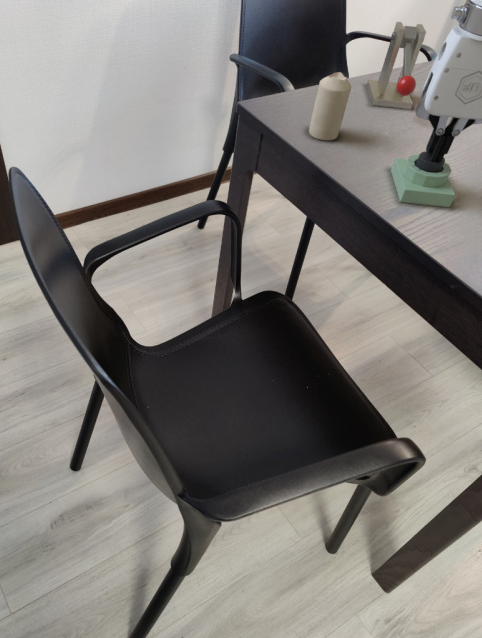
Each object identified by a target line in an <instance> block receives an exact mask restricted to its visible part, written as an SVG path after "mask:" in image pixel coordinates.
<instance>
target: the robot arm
mask: <svg viewBox="0 0 482 638" xmlns="http://www.w3.org/2000/svg"><path fill="white" fill-rule="evenodd" d="M450 16H451V17H450V19H451V20H456V21H457V22H458V25H454V26H453V27H452V29H451V30H450V32H449V33H448V35H447V37H446V39H445V40H444V42H443V44H442V45H441V48H440V49H439V52H438V54H437V55H436V58H435V59H434V62H433V64H432V66H431V68H430V71H429V72H428V76H427V78H426V80H425V82H424V85H423V88H422V91H421V94H420V100H419V102H418V104H417V106H416V107H415V108H414V113H415V115H416V117H418V118H420V119H423V120H426V121H429V123H430V124H431V126H432V128H433V129H432V132H431V135H430V136H429V139H428V141H427V144H426V148H425V151H427V153H428V156H429V158H430V161H435V160H437V161H438V162H441V161H442V159H443V157H444V158H445V155H447V154H448V153H449V151H450V149H451V147H452V144H453V143H454V140H455V138H456V137H459V136H460V135H461V133H462V132H463V131H465V130H467V128H469V127H471V126H472V125H480V124H482V0H466V1H465V3H464V4H463V5H460V6H454V7H453V9H452V12H451V15H450ZM449 118H450V120H449ZM448 120H449V122H448Z"/></svg>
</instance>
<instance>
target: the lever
mask: <svg viewBox="0 0 482 638" xmlns="http://www.w3.org/2000/svg"><path fill="white" fill-rule="evenodd" d="M403 26H404V28H405V32H404V35H403V38H402V41H401V45H400V48H399V49H403V58H402V59H403V60H402V67H403V77H402V78H401V79H400V80H399V81H398V80H397V82H398V83H397V82H396V83H397V92H398V93H399V94H400V95H402V96H408V95H410V96H411V94H413V93H414V91H415V89H416V86H417V82H416V79H415V77H414V76H412V75H411V76H410V68H411V47H412V45H413V43H414V41H415V39H416V26H414V25H413V26H411V25H403Z"/></svg>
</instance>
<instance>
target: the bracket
mask: <svg viewBox="0 0 482 638" xmlns="http://www.w3.org/2000/svg"><path fill="white" fill-rule="evenodd" d="M404 26H405V25H404V24H403V22H402V21H396V22H395V25H394V29H393V32H392V33H391V37H390V42H389V44H388V48H387V52H386V54H385V58H384V61H383V65H382V67H381V70H380V74H379V77H378V80H374V79H373V80H372V79H367V82H366V88H367V92H368V93H367V94H368V95H369V99H370V103H371V106H374V107H383V108H384V107H385V108H386V107H387V108H393V109H394V108H395V109H403V110H412V108H413V105H414V102H413V100H412V98H411V94H410V95H408V96H402V95H400V94H399V93H398V92H397V83H398V81H399V80H400V79H401V78H402V77H403V66H402V68H401V70H400V73H399V76H398V79H397V81H396V82H392V81H390V78H391V75H392V72H393V69H394V66H395V63H396V60H397V56H398V53H399V51H400V49H401V48H400V45H401V41H402V38H403V35H404V32H405V28H404ZM415 27H416V39H415V41H414V43H413V45H412V47H411V68H410V76H412V74H413V71H414V69H415V65H416V62H417V60H418V57H419V54H420V51H421V48H422V46H423V43H424V41H425V38H426V34H427V31H426V28H425V27H424V25H423V24H422V23H417V24H416V26H415Z"/></svg>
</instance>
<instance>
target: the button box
mask: <svg viewBox="0 0 482 638" xmlns="http://www.w3.org/2000/svg"><path fill="white" fill-rule="evenodd" d="M419 155H420V153H419V154H414V155H410V156H408V158H407V159H406V158H397V157H395V158H394V159H393V163H392V166H391V168H390V172H391V176H392V180H393V183H394V186H395V189H396V193H397V196H398V199H399V202H400V203H404V204H415V205H425V206H434V207H443V208H450V207H451V205H452V203H453V201H454V199H456V198H455V197H456V192H455V190H454V188H453V184H452V183H451V181H450V178H449V177H450V175H451V173H452V169H451V166H450V163H447V162H446V161H445V162H444V165H443V167H442V169H441V171H440V172H438V173H430V172H426V171H423V170H420V169H419V168H418V167H416V162H417V160H418V157H419Z"/></svg>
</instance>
